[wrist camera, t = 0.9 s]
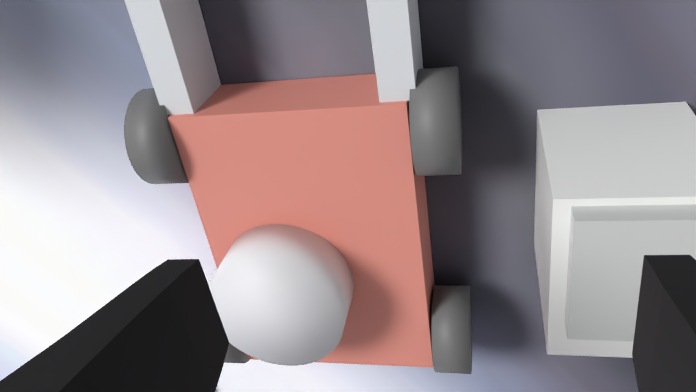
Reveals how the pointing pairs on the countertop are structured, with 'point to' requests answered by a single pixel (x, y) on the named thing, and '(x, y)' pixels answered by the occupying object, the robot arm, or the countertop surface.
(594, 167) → the white drawer box
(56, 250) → the countertop surface
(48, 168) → the countertop surface
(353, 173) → the toy car
